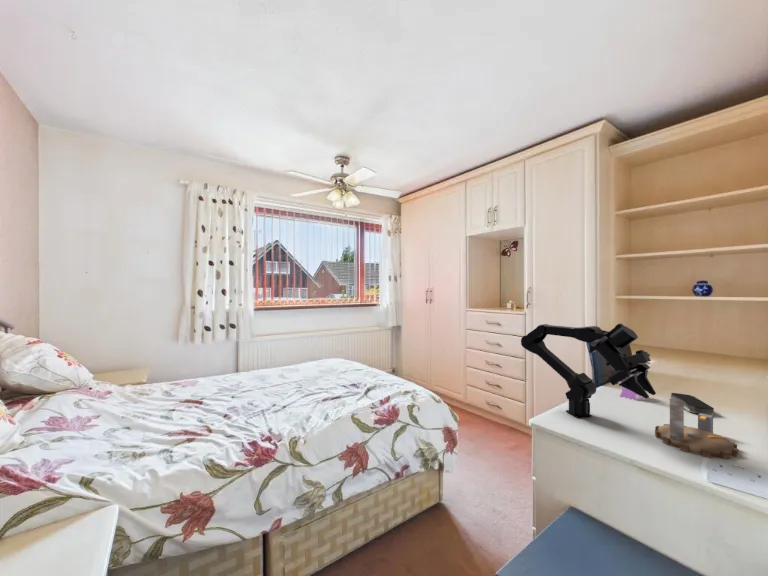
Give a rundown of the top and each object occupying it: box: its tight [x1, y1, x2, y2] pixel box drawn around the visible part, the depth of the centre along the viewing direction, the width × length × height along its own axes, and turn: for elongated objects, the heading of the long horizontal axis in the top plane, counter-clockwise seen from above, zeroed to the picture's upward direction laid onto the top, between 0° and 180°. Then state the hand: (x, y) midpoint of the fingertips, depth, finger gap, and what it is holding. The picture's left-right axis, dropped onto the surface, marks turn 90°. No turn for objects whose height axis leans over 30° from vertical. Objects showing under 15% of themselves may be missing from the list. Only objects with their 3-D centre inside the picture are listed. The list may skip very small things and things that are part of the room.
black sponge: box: [670, 392, 715, 417], centre depth 130 cm, size 16×8×4 cm, turn 160°
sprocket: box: [654, 397, 739, 460], centre depth 101 cm, size 19×19×14 cm
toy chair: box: [619, 381, 641, 401], centre depth 143 cm, size 8×9×15 cm
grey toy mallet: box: [697, 413, 714, 433], centre depth 107 cm, size 3×6×6 cm, turn 123°
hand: (651, 396), depth 104 cm, fingers open, 5 cm apart
